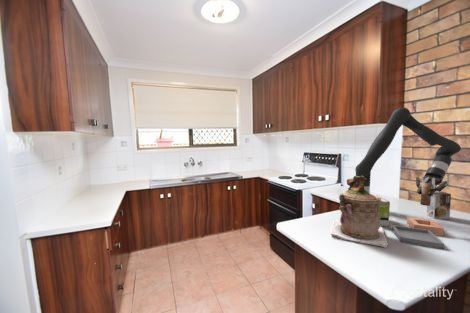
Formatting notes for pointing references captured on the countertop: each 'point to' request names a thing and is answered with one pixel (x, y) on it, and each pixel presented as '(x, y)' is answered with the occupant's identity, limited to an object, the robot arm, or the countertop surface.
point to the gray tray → (417, 236)
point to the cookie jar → (359, 215)
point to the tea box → (384, 211)
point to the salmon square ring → (426, 225)
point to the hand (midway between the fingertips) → (424, 194)
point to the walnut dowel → (425, 194)
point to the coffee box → (439, 206)
